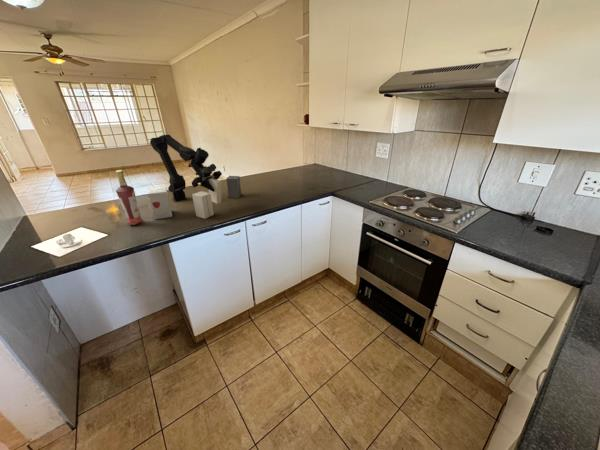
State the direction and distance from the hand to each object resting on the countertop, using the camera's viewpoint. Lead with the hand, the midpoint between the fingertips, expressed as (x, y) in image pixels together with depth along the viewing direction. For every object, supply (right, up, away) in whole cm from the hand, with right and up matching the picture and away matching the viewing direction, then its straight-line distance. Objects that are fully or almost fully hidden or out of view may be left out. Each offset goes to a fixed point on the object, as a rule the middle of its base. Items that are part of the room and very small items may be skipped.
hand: (216, 190), depth 141 cm
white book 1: (-7, -15, -3) cm, 17 cm away
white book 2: (-5, -14, 0) cm, 15 cm away
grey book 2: (+4, +1, +29) cm, 29 cm away
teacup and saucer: (-57, -27, -28) cm, 69 cm away
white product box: (-29, -15, -3) cm, 33 cm away
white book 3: (-2, -6, +4) cm, 7 cm away
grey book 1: (+3, -1, +26) cm, 26 cm away
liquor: (-38, -19, -12) cm, 45 cm away
